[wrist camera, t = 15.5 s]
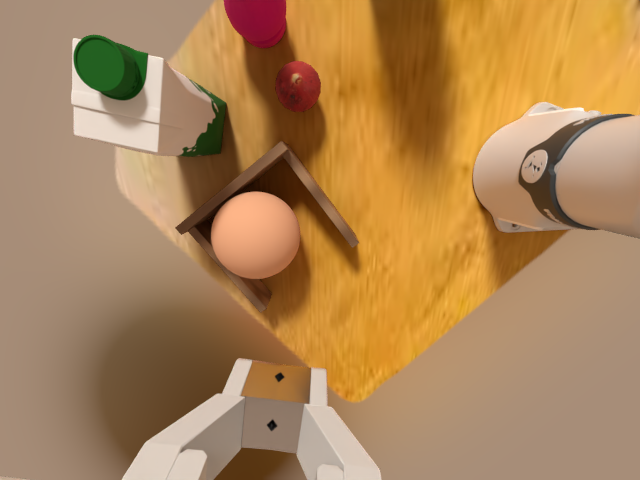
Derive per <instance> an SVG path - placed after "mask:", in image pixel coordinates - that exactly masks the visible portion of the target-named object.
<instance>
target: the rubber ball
mask: <svg viewBox="0 0 640 480" xmlns="http://www.w3.org/2000/svg"><path fill="white" fill-rule="evenodd" d="M211 242H212V246H213V250H214V252H215V254H216V256H217V258H218V259H219V261H220V262H221V263H222V264H223V265H224V266H225V267H226V268H227V269H228V270H230V271H231V272H232V273H234V274H236V275H238V276H241V277H245V278H250V279H262V278H267V277H270V276H273V275H275V274H277V273H279V272H281V271H282V270H283V269H285V268H286V267H287V266H288V265H289V264H290V263H291V261H292V260H293V258H294V257H295V255H296V253H297V250H298V248H299V243H300V227H299V223H298V220H297V218H296V216H295V214H294V212H293V211H292V209H291V208H290V207H289V206H288V205H287V204H286V203H285V202H284V201H282V200H281V199H279V198H278V197H276V196H274V195H271V194H269V193H264V192H246V193H242V194H239V195H237V196H235V197H233V198H231V199H230V200H228V201H227V202H226V203H225V204H224V205H223V206H222V207H221V208H220V209H219V211H218V212H217V214H216V216H215V218H214V221H213V224H212V229H211Z"/></svg>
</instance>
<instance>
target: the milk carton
mask: <svg viewBox="0 0 640 480" xmlns="http://www.w3.org/2000/svg"><path fill="white" fill-rule="evenodd" d="M71 102H72V105H74V135H77V136H81V137H84V138H88V139H92V140H96V141H100V142H103V143H107V144H111V145H114V146H118V147H121V148H125V149H130V150H134V151H139V152H144V153H148V154H153V155H161V156H188V157H195V156H203V155H212V154H220V153H221V144H222V135H223V127H224V118H225V110H226V103H225V102H224V101H222V100H221V99H219V98H218V97H216V96H215V95H213V94H212V93H210V92H209V91H208V90H206V89H204V88H203V87H201V86H200V85H198V84H197V83H195V82H193V81H192V80H190V79H189V78H187V77H185V76H184V75H182V74H180V73H179V72H177V71H176V70H174V69H172V68H171V67H170V66H169V65H168V63H167V62H166V61H165V60H164V59H163V58H160V57H155V56H150V55H148V53H144V52H140V51H136V50H134V49H132V48H130V47H127V46H125V45H122V44H118V43H115V42H113V41H111V40H110V39H107V38H106V37H103V36H100V35H89V36H86V37H84V38H83V39H76V38H74V39H73V54H72V93H71Z"/></svg>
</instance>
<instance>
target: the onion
mask: <svg viewBox="0 0 640 480" xmlns="http://www.w3.org/2000/svg"><path fill="white" fill-rule="evenodd" d="M320 88H321V82H320V79H319V76H318V73H317V72H316V71H315V70H314V69H313V68H312V67H311V65H309V64H307V63H304V62H302V61H293V62H290V63H288V64H285V65H284V67H283V68H282V69H281V70H280V71H279V73H278V76H277V78H276V88H275V89H276V93H277V96H278V99H279V101H280V102H281V103H282V104H283V106H284V107H285V108H287V109H289V110H291V111H293V112H304V111H306V110H308V109H310V108H311V107H312V106H313V105H314V104H315V103H316V102H317V100H318V97H319V95H320Z"/></svg>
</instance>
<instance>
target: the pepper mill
mask: <svg viewBox="0 0 640 480" xmlns="http://www.w3.org/2000/svg"><path fill="white" fill-rule="evenodd" d="M224 6H225V10H226V13H227V16H228V18H229V20H230V22H231V24H232V26H233V27H234V29H235V30H236V31H237V32H238V33H239V34H240V35H242V36H243V37H245V39H246V40H247V41H248V42H249V43H250V44H252V45H254V46H256V47H259V48H269V47H272V46H274V45H275V44H277V43H278V42H279V41H280V39H281V38H282V36H283V34H284V32H285V28H286V17H285V16H286V0H224Z"/></svg>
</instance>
